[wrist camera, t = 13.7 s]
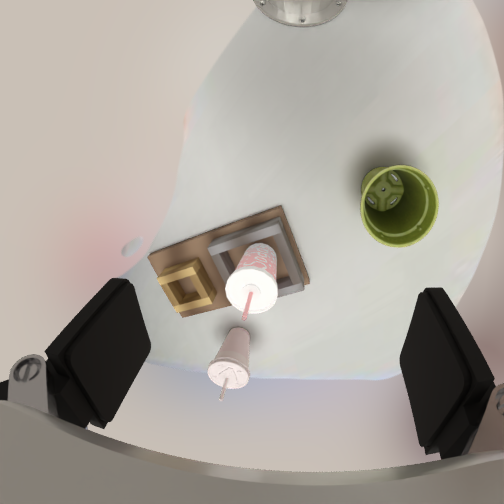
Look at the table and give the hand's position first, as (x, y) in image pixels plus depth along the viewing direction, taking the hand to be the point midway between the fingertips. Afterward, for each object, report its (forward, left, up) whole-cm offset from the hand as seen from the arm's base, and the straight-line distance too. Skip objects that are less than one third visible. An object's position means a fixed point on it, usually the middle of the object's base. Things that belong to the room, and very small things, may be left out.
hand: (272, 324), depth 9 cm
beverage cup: (+13, -5, -31) cm, 34 cm away
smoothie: (+28, -9, -32) cm, 44 cm away
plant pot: (+3, +12, -32) cm, 35 cm away
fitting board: (+15, -10, -32) cm, 37 cm away
